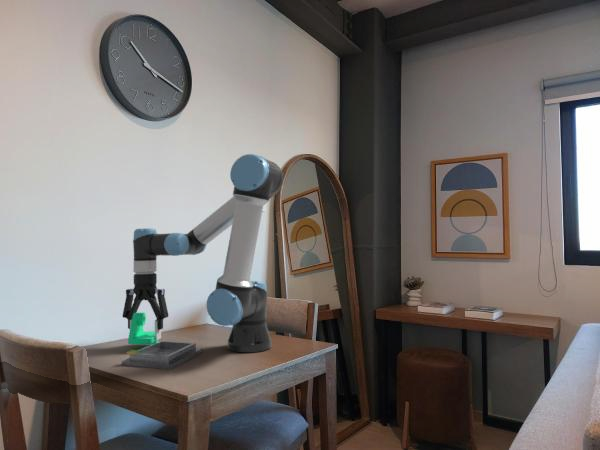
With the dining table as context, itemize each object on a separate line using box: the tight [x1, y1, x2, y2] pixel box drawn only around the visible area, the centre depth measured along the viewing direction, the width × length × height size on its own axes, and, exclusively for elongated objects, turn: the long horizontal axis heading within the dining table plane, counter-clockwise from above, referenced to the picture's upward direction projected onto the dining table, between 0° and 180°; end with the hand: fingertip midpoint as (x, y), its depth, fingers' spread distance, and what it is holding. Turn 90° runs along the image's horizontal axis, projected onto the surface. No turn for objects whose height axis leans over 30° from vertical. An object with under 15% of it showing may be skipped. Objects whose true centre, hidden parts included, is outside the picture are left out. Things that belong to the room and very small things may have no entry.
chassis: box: [121, 340, 203, 370], centre depth 135 cm, size 16×20×4 cm
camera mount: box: [127, 312, 159, 346], centre depth 147 cm, size 12×8×10 cm, turn 4°
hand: (145, 338), depth 147 cm, fingers closed on camera mount, 9 cm apart
